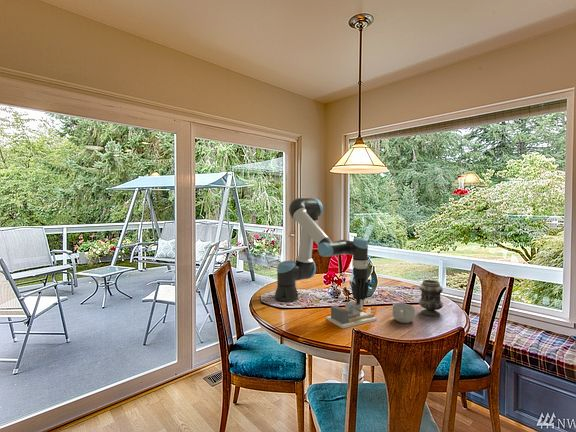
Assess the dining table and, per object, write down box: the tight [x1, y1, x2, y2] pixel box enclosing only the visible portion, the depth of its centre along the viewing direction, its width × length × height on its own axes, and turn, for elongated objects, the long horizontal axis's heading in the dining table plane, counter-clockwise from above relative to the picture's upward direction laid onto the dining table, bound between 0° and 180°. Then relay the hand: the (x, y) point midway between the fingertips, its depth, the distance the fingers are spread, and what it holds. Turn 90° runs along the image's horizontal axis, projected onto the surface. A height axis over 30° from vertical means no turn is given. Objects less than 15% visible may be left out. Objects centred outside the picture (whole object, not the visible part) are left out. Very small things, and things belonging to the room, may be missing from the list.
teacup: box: [392, 302, 416, 324], centre depth 157 cm, size 14×11×8 cm
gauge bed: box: [325, 304, 377, 329], centre depth 161 cm, size 14×22×7 cm, turn 118°
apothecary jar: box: [418, 279, 444, 318], centre depth 169 cm, size 12×12×18 cm
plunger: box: [344, 300, 364, 318], centre depth 159 cm, size 10×5×7 cm, turn 28°
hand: (359, 311), depth 164 cm, fingers closed
